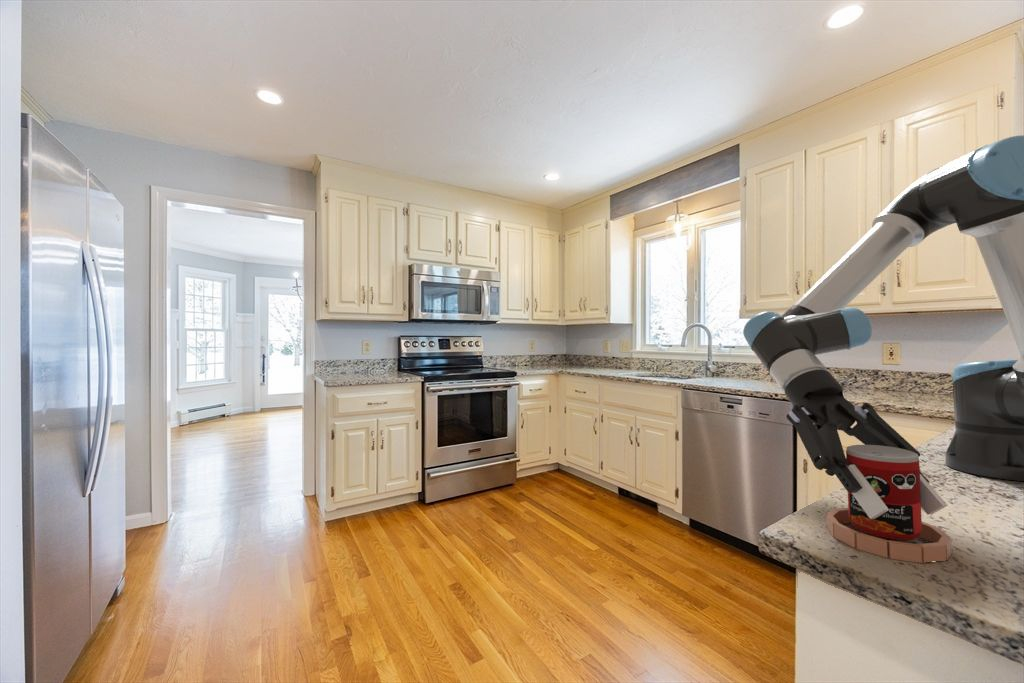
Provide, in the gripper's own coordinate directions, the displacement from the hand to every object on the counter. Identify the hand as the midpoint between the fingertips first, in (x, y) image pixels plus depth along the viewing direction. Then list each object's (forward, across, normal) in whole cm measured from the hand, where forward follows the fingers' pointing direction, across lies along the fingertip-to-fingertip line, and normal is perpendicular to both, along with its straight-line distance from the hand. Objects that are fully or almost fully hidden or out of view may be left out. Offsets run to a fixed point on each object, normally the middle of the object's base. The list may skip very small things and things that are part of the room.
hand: (908, 512), depth 55 cm
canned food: (0, 0, -5) cm, 5 cm away
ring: (+1, 0, -6) cm, 6 cm away
